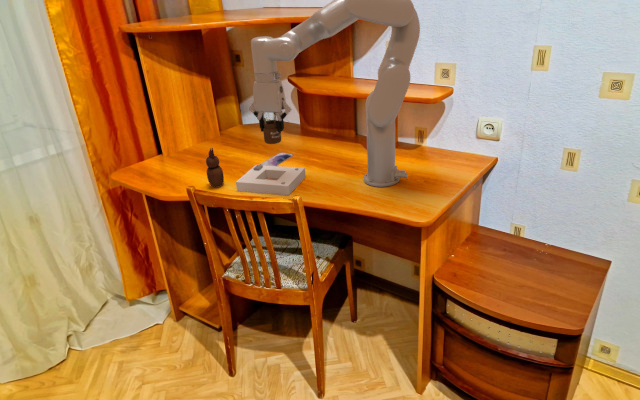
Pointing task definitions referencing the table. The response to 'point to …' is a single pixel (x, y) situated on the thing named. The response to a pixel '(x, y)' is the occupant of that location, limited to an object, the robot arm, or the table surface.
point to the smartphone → (277, 159)
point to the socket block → (282, 186)
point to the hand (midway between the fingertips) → (272, 130)
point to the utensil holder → (271, 131)
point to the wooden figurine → (214, 170)
